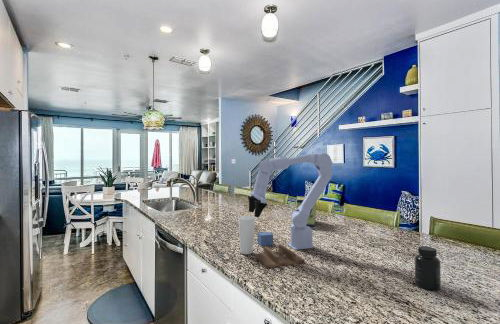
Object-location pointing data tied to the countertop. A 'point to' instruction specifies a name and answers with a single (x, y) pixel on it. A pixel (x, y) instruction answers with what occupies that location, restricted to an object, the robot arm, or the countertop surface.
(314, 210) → the protein box
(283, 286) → the countertop surface
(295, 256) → the shelf frame
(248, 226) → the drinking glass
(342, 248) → the countertop surface
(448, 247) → the countertop surface
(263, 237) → the shelf block
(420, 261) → the supplement bottle
